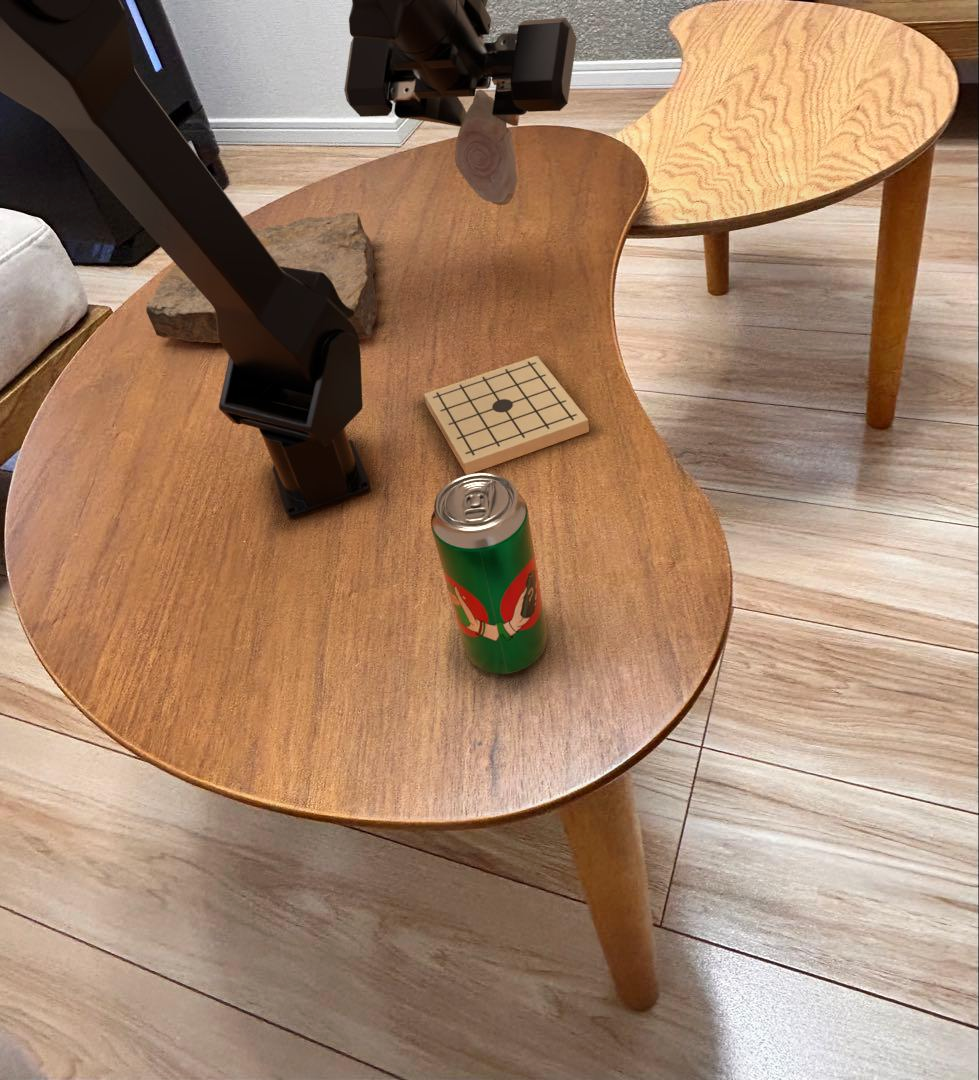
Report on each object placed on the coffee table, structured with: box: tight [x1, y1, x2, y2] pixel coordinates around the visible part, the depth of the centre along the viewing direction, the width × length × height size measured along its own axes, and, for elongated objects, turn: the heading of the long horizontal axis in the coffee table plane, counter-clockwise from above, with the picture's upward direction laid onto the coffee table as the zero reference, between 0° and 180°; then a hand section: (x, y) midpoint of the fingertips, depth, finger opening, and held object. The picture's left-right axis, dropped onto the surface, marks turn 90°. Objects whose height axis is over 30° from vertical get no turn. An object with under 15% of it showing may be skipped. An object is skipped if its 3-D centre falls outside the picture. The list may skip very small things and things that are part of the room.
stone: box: [145, 211, 379, 344], centre depth 86 cm, size 21×19×4 cm
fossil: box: [454, 89, 518, 206], centre depth 78 cm, size 6×4×10 cm, turn 62°
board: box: [423, 355, 590, 475], centre depth 68 cm, size 10×10×1 cm
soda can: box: [430, 472, 548, 675], centre depth 48 cm, size 5×5×12 cm
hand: (491, 120), depth 77 cm, fingers closed on fossil, 4 cm apart
